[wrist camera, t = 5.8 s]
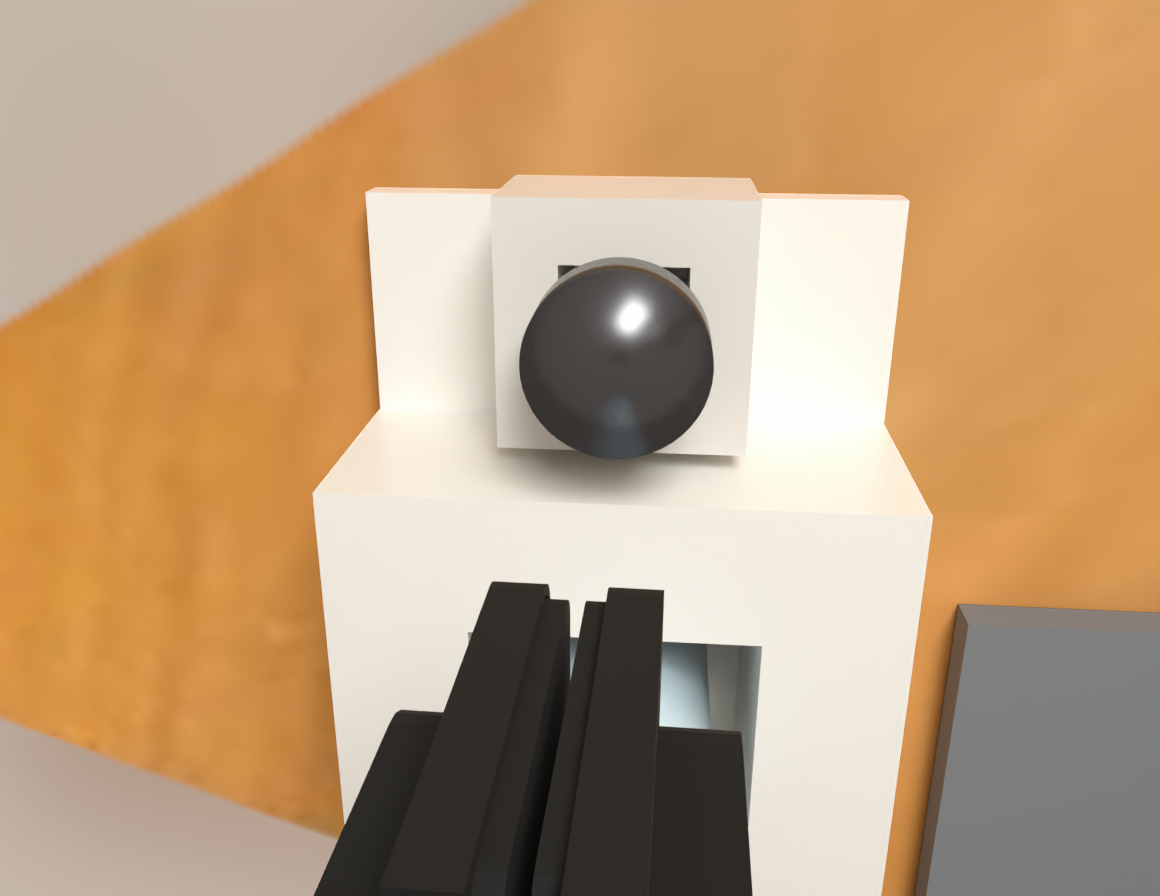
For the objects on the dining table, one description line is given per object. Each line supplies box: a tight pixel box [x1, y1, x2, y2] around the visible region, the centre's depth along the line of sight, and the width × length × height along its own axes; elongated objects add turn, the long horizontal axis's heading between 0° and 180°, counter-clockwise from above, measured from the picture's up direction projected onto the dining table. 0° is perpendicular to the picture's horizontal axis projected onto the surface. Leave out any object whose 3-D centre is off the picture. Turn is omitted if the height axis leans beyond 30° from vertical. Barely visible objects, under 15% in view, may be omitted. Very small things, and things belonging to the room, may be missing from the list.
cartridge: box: [570, 637, 711, 729], centre depth 25 cm, size 6×6×14 cm
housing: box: [313, 175, 933, 896], centre depth 29 cm, size 20×14×7 cm
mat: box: [914, 604, 1160, 896], centre depth 33 cm, size 12×12×1 cm
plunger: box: [519, 257, 714, 459], centre depth 25 cm, size 4×4×6 cm
